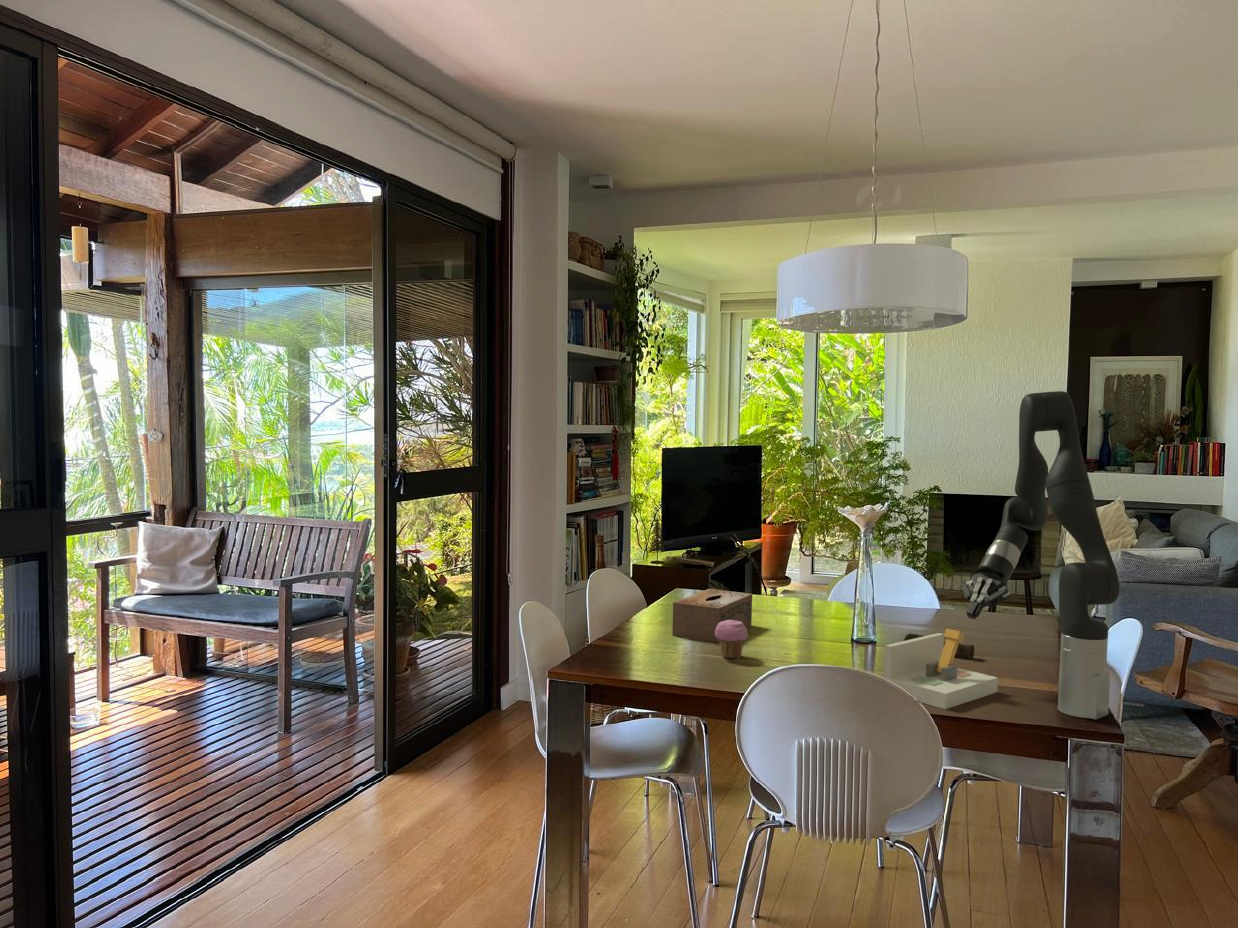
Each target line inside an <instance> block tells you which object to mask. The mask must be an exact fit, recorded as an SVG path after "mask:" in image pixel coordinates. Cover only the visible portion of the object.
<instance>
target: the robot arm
mask: <svg viewBox="0 0 1238 928" xmlns="http://www.w3.org/2000/svg"><path fill="white" fill-rule="evenodd" d="M1020 402H1021V403H1020V406H1019V415H1018V416H1019V417H1018V419H1019V420H1018V467H1017V473H1016V480H1015V486H1014V493H1015V495H1016V496H1013V497H1010V498H1009V499H1007V501H1006V502H1005V504H1004V507H1003V511H1002V519H1001V523H1000V524H1001V525H1000V528H999V530H998V532H997V534H996V536H995V538H994V540H993V542H992V543H991V545H990V546H989V547H988V548H987V551H986V552H985V555H984V556H983V558H982V560H981V561H980V563H979V566H978V567H977V570H976V574H975V575H973V576H972V578H971V579H970V580H967V581H966V580H965V579H963V580H961V581H960V584H961V588H962V591H963V594H964V598H965V599H966V600H967V602H968V606H967V608H966V609H965V613H966V616H967V618H968V619H971V620H976V619H977V618H979V616H980V614H981V612H982V611H983V609H985V608H986V607H988V608H990V609H991V608H993V607H995V606H997V605H999V604H1001V603H1002V602H1004V601H1006V600H1008V599H1009V598H1010V597H1012V595H1011V592H1010V589H1008V587H1007V583H1008V582H1009V579H1010V578H1011V576H1012V574H1013V572H1014V571H1015V568H1016V567H1017V565H1018V563H1019V559H1020V557H1021V554H1022V553H1023V551H1024V549H1025V546H1026V545H1027V543H1028V540H1029V539H1028V538H1029V536H1028V534H1027V532H1026V531H1025V530H1024V529H1026V530H1030V531H1035V532H1036V531H1040V530H1042V529H1043V528H1044V527H1045V526H1046V525H1047V522H1048V520H1049V519H1048V518H1049V512H1048V505H1047V500H1046V496H1047V499H1048V502H1049V507H1050V510H1051V512H1052V514H1053V516H1054V517H1055V519H1056V520H1057V521H1058V522H1059V524H1060V525H1061V526H1062V527H1063V528H1064V529H1065V530H1066V531H1067V532H1068V534H1069V535H1070V536H1071V537H1072V538H1073V540H1075V542H1076V543H1077V545H1078V547H1079V548H1080V551H1081V553H1082V556H1083V558H1084V559H1083V560H1084V562H1069V563H1066V564H1065V565H1063V567H1062V569H1060V570H1061V571H1060V574H1059V577H1058V617H1059V621H1060V626H1061V627H1060V630H1061V631H1060V651H1059V653H1060V654H1059V669H1058V670H1059V672H1058V674H1059V675H1058V696H1057V710H1058V711H1059V712H1061V713H1062V714H1065V715H1068V716H1072V717H1076V718H1081V719H1082V718H1083V719H1092V720H1099V719H1101V718H1103V717H1106V716H1108V715H1109V709H1110V707H1109V706H1110V683H1111V673H1110V671H1107V662H1108V644H1109V643H1108V641H1109V627H1108V625H1107V624H1106V623H1105V622H1103V621H1100V620H1097V619H1095V618H1093V617H1091V616H1090V615H1089V607H1088V606H1093V605H1095V606H1098V605H1100V606H1101V605H1102V606H1105V605H1112V604H1114V603H1115V602H1116V600H1118V598H1119V595H1120V589H1121V588H1120V580H1119V575H1118V571H1117V568H1116V565H1115V563H1114V560H1113V558H1112V557H1113V556H1112V554H1111V551H1110V550H1109V546H1108V544H1107V541H1106V539H1105V536H1104V532H1103V529H1102V526H1101V522H1100V518H1099V513H1098V510H1097V506H1096V501H1095V497H1094V492H1093V488H1092V486H1091V481H1090V478H1089V477H1090V476H1089V474H1088V472H1087V467H1086V464H1085V461H1084V456H1083V452H1082V451H1083V450H1082V448H1081V447H1082V446H1081V442H1080V436H1079V429H1078V423H1077V416H1076V412H1075V406H1074V403H1073V400H1072V398H1071V396H1070V395H1069V393H1068V392H1066V391H1062V390H1060V391H1059V390H1058V391H1046V392H1045V391H1044V392H1042V391H1041V392H1033V393H1028V394H1026V395H1024V396H1023V398H1022V399H1021V401H1020ZM1050 431H1052V432H1053V431H1057V432H1058V436H1059V437H1058V438H1059V446H1058V451H1057V453H1056V457H1055V459H1054V461H1053V463H1052V465H1051V467H1050V469H1049V466H1048V463H1047V460H1046V459H1045V457H1044V456H1043V454H1042V452H1041V451H1040V449H1039V448H1038V446H1037V444H1036V440H1035V435H1036V433H1037V432H1038V433H1039V432H1050ZM1046 494H1047V495H1046ZM1021 527H1022V528H1021ZM972 588H973V590H972ZM971 591H972V593H971Z"/></svg>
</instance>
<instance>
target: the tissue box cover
mask: <svg viewBox="0 0 1238 928" xmlns="http://www.w3.org/2000/svg"><path fill="white" fill-rule="evenodd" d="M752 615H753V594H752V593H749V592H748V593H747V592H738V591H729V590H722V589H714V588H708V589H706V590H705V589H704V590H703V591H702V590H701V591H700V592H696V593H694V594H692V595H690V596H689V595H688V596H686V597H684V598H681V599H679V600H675V601H673V602H672V627H671V628H672V629H671V630H672V632H671V633H672V637H680V638H686V639H688V638H689V639H693V640H700V641H706V642H714V643H720V641H719V639H718V638H717V637H716V636H715V630H716V627H717V625H718V624H719V623H720V622H722V621H726V620H735V621H740V622H742V623H743V625H744V626H745V627H746V629H747V628H749V627H751V626H752V621H753V620H752Z"/></svg>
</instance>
